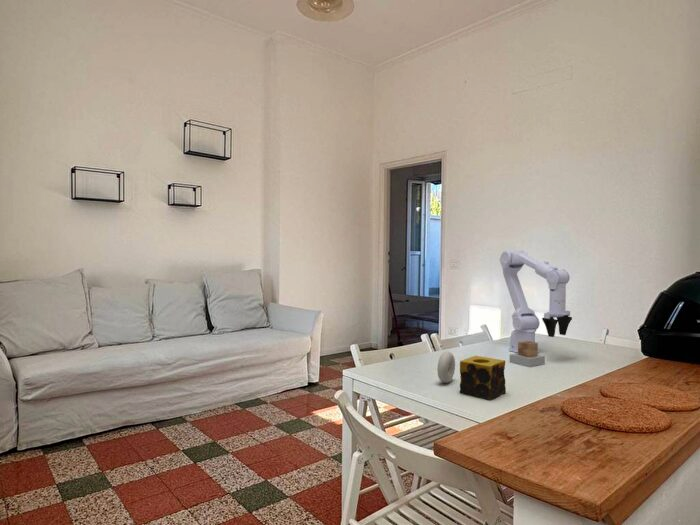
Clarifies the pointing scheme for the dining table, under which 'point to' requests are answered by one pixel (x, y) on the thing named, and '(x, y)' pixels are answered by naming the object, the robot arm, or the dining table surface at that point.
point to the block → (528, 349)
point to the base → (527, 360)
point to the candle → (482, 377)
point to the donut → (446, 367)
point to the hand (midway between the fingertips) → (556, 335)
